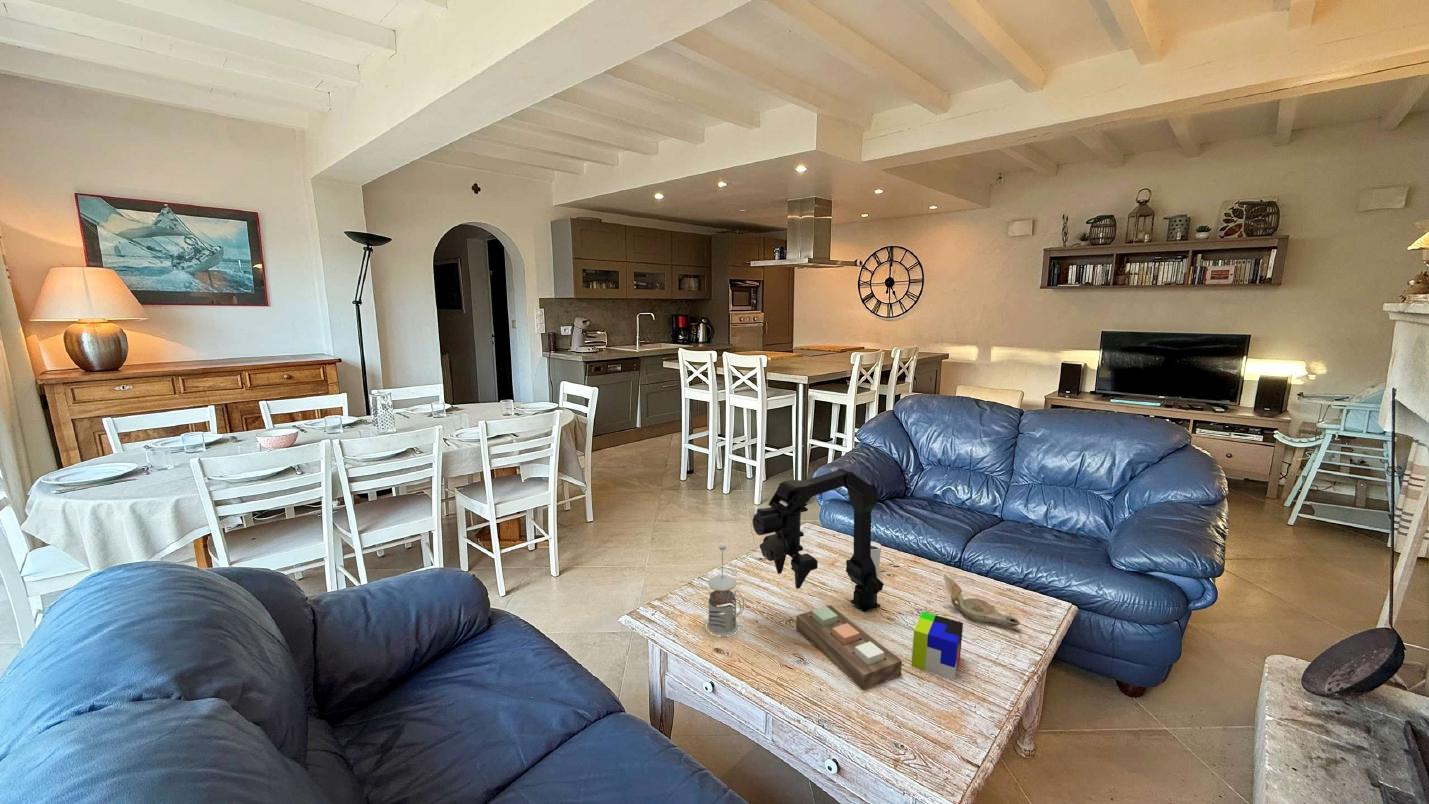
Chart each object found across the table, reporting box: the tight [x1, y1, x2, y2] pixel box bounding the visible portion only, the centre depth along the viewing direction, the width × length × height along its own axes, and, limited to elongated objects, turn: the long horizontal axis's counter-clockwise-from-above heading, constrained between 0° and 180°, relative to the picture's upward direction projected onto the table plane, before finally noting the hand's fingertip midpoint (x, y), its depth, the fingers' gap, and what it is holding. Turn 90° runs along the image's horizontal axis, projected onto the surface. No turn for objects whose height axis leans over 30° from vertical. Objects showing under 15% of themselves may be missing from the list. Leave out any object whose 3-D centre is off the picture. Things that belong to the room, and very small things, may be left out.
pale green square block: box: [811, 606, 838, 628], centre depth 154 cm, size 5×5×3 cm
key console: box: [795, 605, 903, 691], centre depth 147 cm, size 12×28×4 cm, turn 26°
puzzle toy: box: [911, 611, 964, 681], centre depth 141 cm, size 10×10×10 cm
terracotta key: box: [832, 623, 860, 646], centre depth 146 cm, size 5×5×3 cm
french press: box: [706, 544, 745, 636], centre depth 155 cm, size 10×12×25 cm
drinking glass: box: [871, 540, 882, 577], centre depth 188 cm, size 7×7×10 cm
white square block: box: [854, 641, 884, 666], centre depth 138 cm, size 5×5×3 cm
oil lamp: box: [943, 574, 1021, 628], centre depth 161 cm, size 9×21×10 cm, turn 47°
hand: (788, 580), depth 154 cm, fingers open, 9 cm apart
